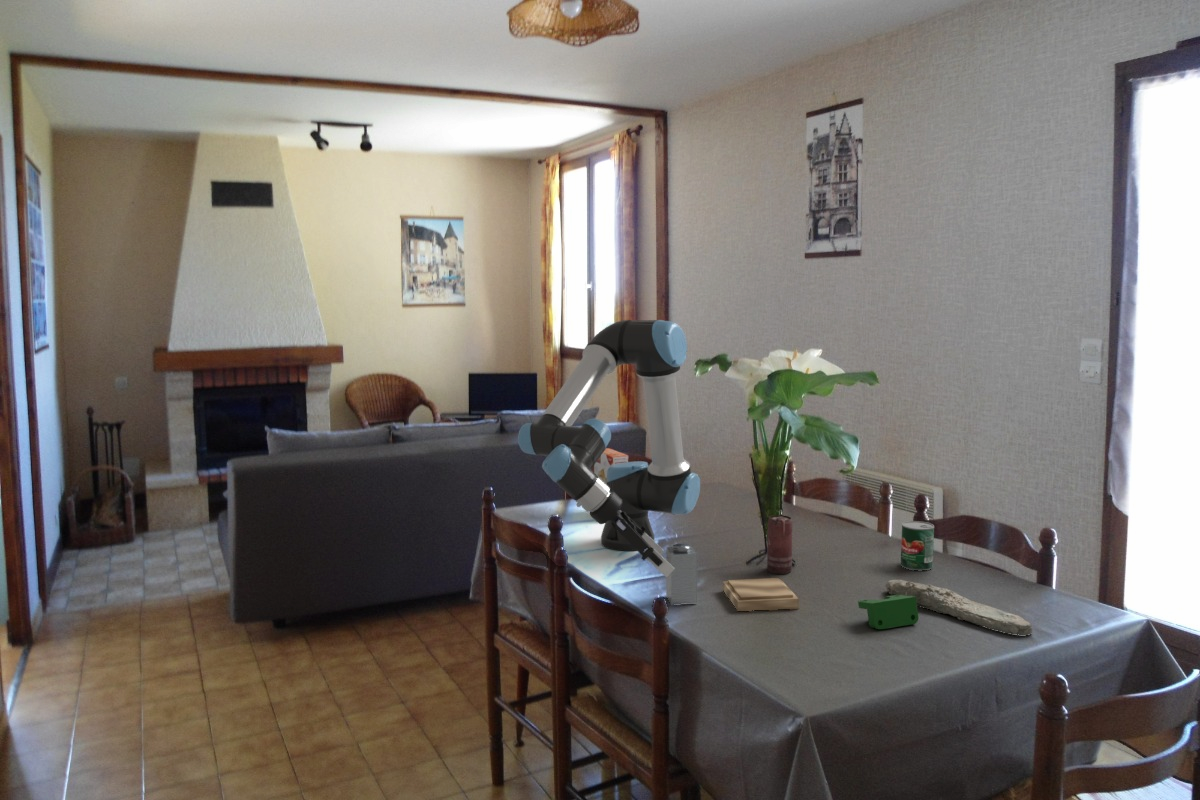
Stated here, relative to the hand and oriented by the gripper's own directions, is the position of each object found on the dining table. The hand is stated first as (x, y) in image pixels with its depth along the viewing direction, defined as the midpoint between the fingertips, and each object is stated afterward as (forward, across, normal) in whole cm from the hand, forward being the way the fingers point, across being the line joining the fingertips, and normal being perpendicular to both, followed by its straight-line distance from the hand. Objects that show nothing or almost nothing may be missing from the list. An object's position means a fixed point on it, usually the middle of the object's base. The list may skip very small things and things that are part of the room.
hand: (665, 563), depth 206 cm
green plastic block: (+39, +18, +25) cm, 50 cm away
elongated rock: (+51, +14, +38) cm, 65 cm away
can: (+30, -19, +17) cm, 39 cm away
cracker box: (+4, -80, -9) cm, 81 cm away
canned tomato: (+55, -18, +42) cm, 72 cm away
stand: (+22, +1, +9) cm, 24 cm away
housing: (+9, -1, -4) cm, 10 cm away
